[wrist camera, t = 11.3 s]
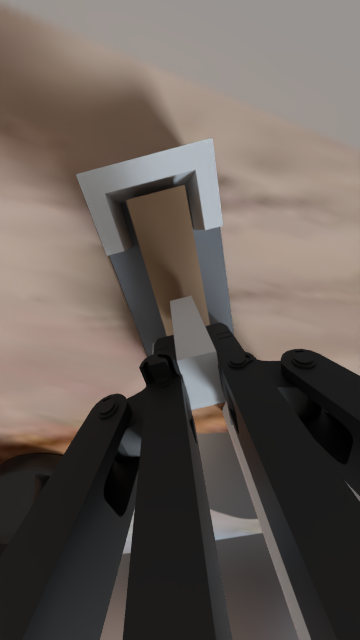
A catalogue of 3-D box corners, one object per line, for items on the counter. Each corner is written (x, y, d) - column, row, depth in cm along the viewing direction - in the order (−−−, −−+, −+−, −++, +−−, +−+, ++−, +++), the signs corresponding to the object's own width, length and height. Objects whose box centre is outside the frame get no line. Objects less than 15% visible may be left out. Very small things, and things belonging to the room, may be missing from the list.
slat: (177, 355, 22) (182, 387, 18) (135, 208, 16) (125, 200, 11) (207, 348, 22) (219, 378, 18) (177, 197, 16) (184, 184, 11)
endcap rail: (155, 370, 24) (154, 407, 19) (89, 194, 16) (57, 179, 11) (233, 351, 24) (252, 383, 19) (208, 163, 16) (230, 132, 11)
